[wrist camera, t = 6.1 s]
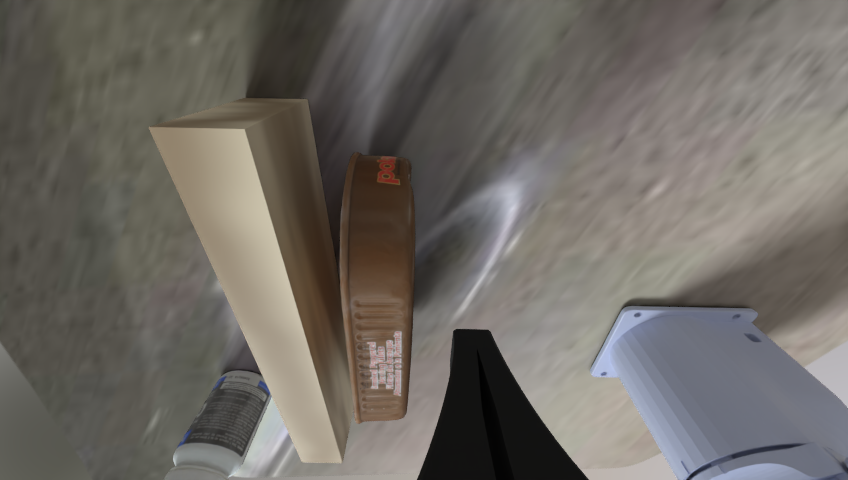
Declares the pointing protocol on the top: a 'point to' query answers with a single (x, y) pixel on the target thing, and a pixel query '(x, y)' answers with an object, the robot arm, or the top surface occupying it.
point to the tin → (378, 283)
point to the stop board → (271, 254)
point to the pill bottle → (222, 429)
